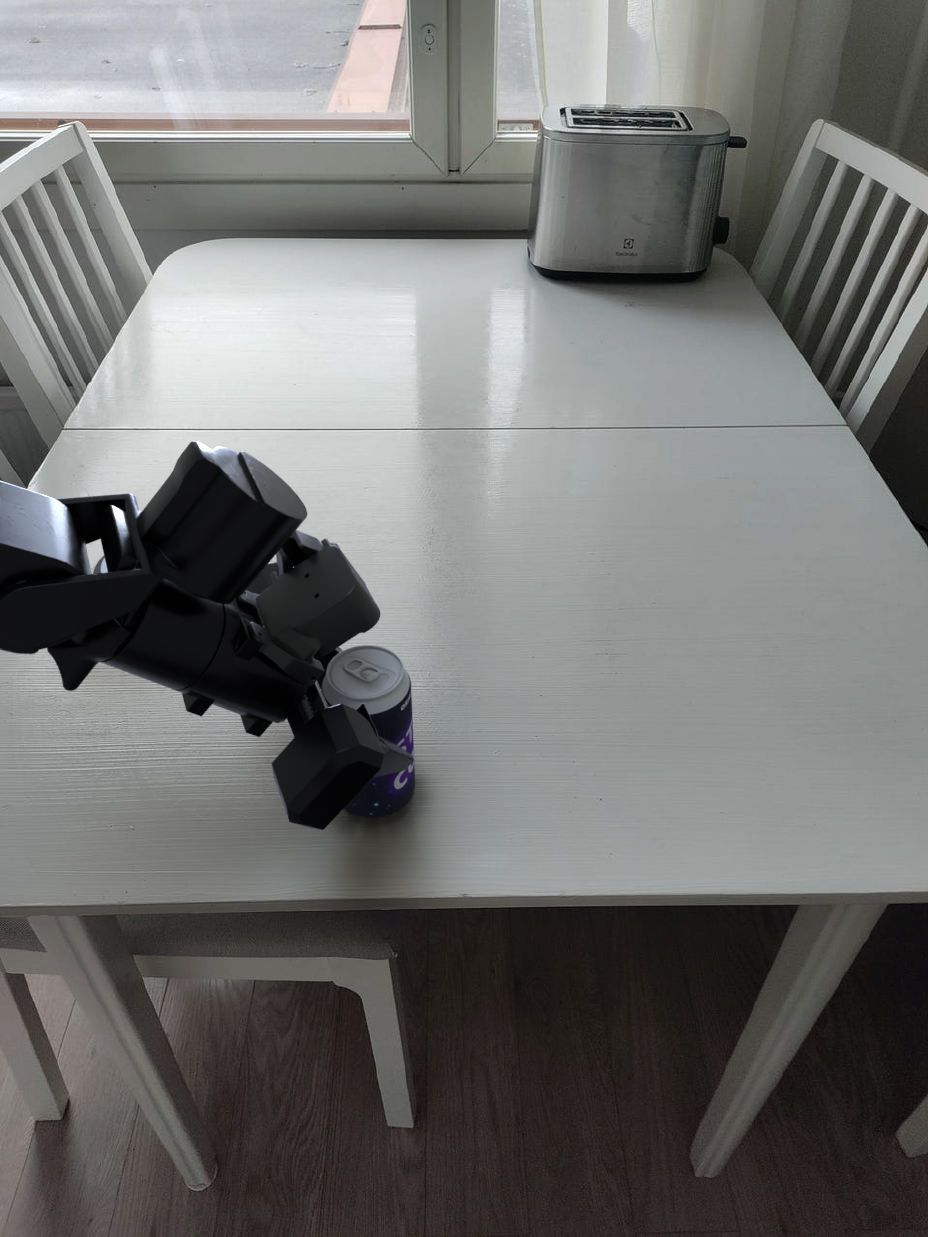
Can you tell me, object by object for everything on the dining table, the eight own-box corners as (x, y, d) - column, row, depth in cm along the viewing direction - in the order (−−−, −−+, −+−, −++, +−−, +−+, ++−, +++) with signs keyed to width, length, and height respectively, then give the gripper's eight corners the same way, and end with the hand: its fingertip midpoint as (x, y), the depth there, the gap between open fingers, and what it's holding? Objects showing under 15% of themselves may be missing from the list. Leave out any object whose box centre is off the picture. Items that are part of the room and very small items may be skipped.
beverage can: (378, 841, 64) (368, 716, 57) (318, 800, 67) (300, 676, 59) (431, 789, 68) (428, 665, 60) (372, 752, 71) (362, 629, 63)
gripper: (331, 642, 45) (532, 737, 55) (242, 452, 58) (418, 558, 68) (192, 801, 47) (408, 863, 58) (137, 586, 61) (321, 668, 71)
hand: (389, 724), depth 64 cm, fingers open, 7 cm apart
